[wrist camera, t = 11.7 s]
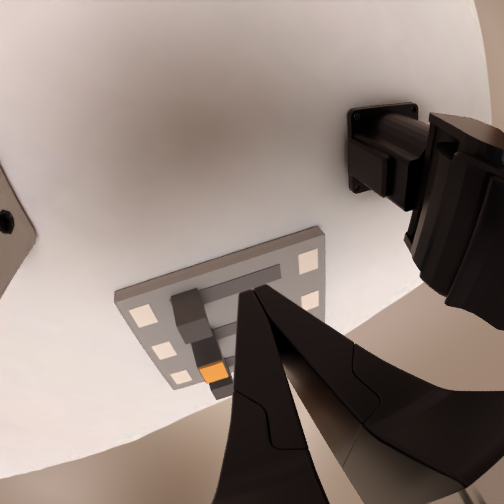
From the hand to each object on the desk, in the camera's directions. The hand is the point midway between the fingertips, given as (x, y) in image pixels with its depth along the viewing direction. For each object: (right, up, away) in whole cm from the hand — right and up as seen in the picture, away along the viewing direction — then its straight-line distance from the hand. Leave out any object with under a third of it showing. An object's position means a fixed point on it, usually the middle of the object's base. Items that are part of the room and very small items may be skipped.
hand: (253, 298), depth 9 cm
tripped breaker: (-4, -6, +16) cm, 18 cm away
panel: (-2, -4, +18) cm, 18 cm away
